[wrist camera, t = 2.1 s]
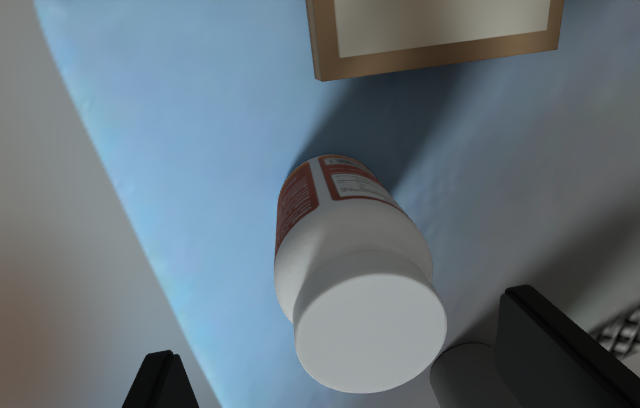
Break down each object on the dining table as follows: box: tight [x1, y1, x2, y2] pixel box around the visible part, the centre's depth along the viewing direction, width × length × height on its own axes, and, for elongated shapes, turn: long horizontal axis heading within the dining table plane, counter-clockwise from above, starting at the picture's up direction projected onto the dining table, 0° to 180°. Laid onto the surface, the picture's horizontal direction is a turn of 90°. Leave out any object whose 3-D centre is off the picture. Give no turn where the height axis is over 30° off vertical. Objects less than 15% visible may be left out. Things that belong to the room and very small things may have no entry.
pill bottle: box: [274, 154, 447, 393], centre depth 15 cm, size 6×6×11 cm
